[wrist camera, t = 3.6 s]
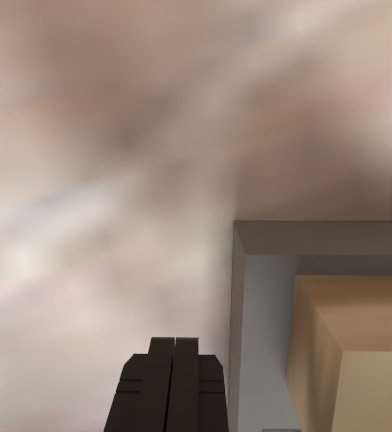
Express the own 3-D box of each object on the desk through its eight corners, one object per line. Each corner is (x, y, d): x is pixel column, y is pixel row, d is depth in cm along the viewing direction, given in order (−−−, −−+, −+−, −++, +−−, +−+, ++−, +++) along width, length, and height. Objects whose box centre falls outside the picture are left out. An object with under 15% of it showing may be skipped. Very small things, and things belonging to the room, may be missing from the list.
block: (295, 275, 12) (342, 351, 8) (425, 275, 12) (539, 352, 8) (285, 382, 13) (322, 494, 9) (403, 383, 13) (492, 496, 9)
